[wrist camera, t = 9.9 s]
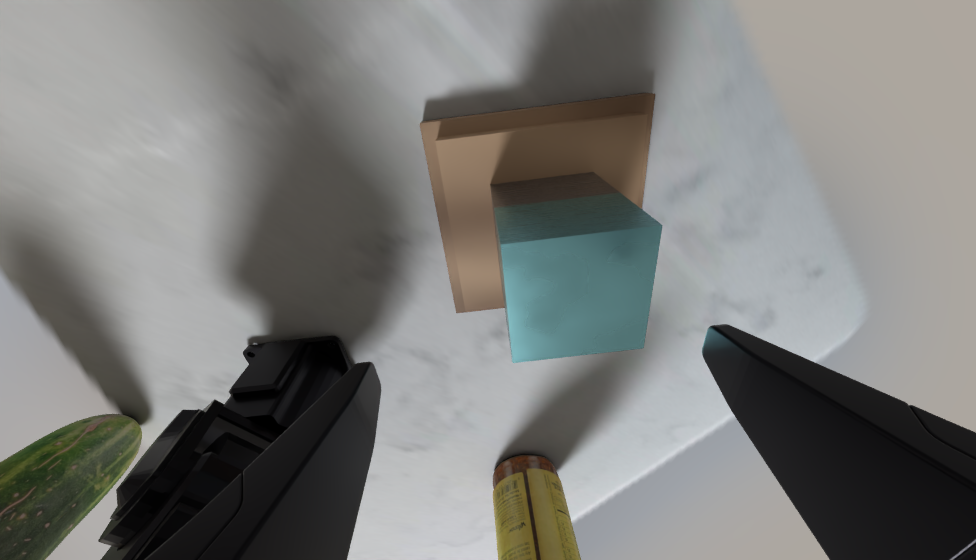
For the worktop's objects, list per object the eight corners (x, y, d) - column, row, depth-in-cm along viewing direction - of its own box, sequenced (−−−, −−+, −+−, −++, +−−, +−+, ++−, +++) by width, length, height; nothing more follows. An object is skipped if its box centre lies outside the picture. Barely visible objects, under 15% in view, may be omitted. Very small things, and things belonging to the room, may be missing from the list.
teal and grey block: (593, 171, 17) (662, 225, 11) (589, 263, 19) (643, 348, 13) (490, 184, 17) (500, 244, 11) (499, 273, 19) (512, 363, 13)
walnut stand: (625, 284, 22) (638, 302, 21) (456, 304, 23) (455, 322, 21) (645, 93, 17) (665, 94, 15) (422, 121, 17) (416, 126, 15)
